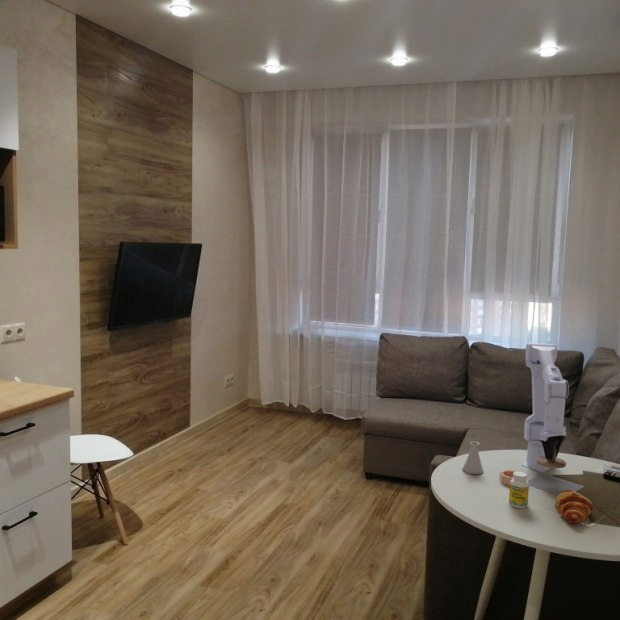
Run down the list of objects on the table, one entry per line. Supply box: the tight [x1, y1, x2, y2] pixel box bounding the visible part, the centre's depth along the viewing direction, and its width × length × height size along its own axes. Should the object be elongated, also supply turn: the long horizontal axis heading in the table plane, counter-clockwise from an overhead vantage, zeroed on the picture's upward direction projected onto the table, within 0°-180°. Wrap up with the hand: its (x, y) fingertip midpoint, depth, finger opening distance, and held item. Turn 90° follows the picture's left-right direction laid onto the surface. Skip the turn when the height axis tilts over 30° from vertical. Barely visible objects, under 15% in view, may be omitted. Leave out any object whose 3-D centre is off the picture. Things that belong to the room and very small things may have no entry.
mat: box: [527, 473, 585, 496], centre depth 199 cm, size 14×14×1 cm
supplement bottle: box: [508, 471, 530, 509], centre depth 183 cm, size 5×5×10 cm
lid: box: [536, 447, 567, 469], centre depth 198 cm, size 9×9×5 cm
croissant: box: [554, 490, 594, 524], centre depth 179 cm, size 21×10×8 cm, turn 159°
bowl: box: [499, 469, 518, 487], centre depth 200 cm, size 7×7×3 cm
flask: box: [462, 441, 484, 475], centre depth 209 cm, size 7×7×10 cm
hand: (550, 457), depth 198 cm, fingers closed on lid, 3 cm apart
